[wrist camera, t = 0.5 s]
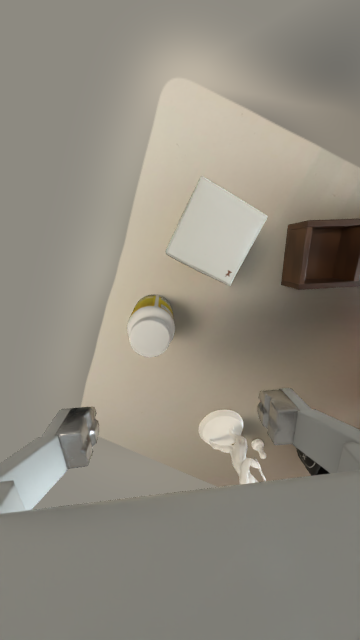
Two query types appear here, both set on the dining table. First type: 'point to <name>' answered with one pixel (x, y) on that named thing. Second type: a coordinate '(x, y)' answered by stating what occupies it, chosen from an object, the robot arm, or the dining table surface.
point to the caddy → (322, 254)
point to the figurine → (229, 441)
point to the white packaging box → (215, 232)
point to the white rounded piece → (259, 447)
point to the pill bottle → (151, 326)
